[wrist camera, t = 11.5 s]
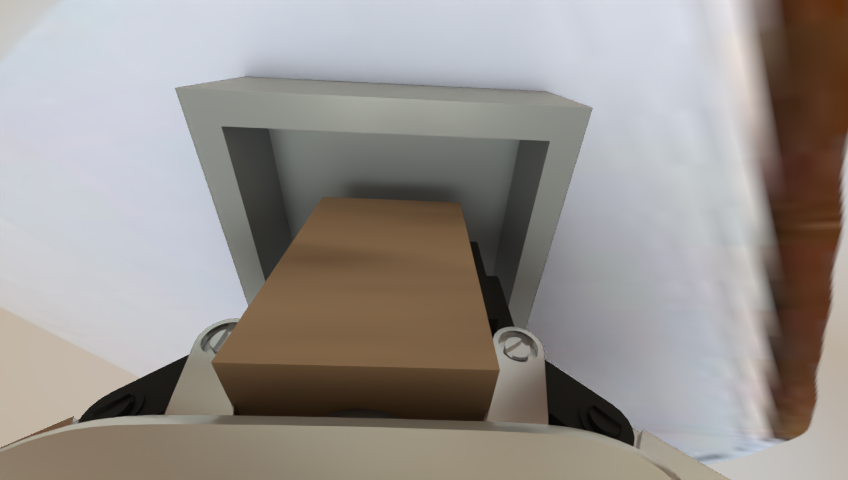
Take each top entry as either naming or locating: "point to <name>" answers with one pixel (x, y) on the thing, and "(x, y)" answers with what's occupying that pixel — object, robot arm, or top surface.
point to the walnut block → (367, 320)
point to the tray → (386, 163)
